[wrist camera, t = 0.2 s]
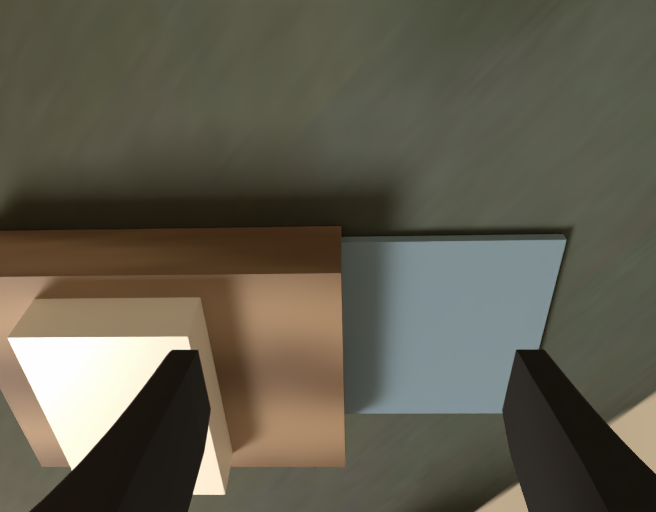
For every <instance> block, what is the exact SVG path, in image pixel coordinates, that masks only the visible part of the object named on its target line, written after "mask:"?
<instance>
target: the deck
mask: <svg viewBox="0 0 656 512" xmlns="http://www.w3.org/2000/svg"><path fill="white" fill-rule="evenodd" d="M177 297H200V298H201V303H202V308H203V313H204V317H205V322H206V327H207V332H208V337H209V341H210V346H211V351H212V356H213V361H214V365H215V370H216V375H217V380H218V385H219V389H220V394H221V399H222V404H223V409H224V413H225V418H226V423H227V428H228V433H229V437H230V442H231V447H232V452H233V455H232V460H231V466H230V467H345V386H344V338H343V290H342V234H341V226H306V227H234V228H163V229H91V230H19V231H0V389H1V391H2V393H3V395H4V397H5V398H6V400H7V402H8V404H9V406H10V408H11V410H12V411H13V413H14V415H15V417H16V419H17V421H18V423H19V425H20V426H21V428H22V430H23V432H24V434H25V436H26V438H27V439H28V441H29V443H30V445H31V447H32V449H33V451H34V453H35V454H36V456H37V458H38V460H39V462H40V464H41V466H42V467H70V465H69V463H68V461H67V459H66V457H65V455H64V453H63V451H62V449H61V447H60V445H59V443H58V441H57V438H56V436H55V434H54V432H53V430H52V428H51V426H50V424H49V422H48V420H47V418H46V416H45V414H44V412H43V410H42V408H41V406H40V404H39V402H38V400H37V397H36V395H35V393H34V391H33V389H32V387H31V385H30V383H29V381H28V379H27V377H26V375H25V373H24V371H23V369H22V367H21V365H20V363H19V361H18V359H17V357H16V354H15V352H14V350H13V348H12V346H11V344H10V342H9V340H8V336H9V335H10V333H11V332H12V330H13V329H14V327H15V326H16V325H17V323H18V322H19V320H20V319H21V317H22V316H23V314H24V313H25V312H26V310H27V309H28V307H29V306H30V304H31V303H32V301H33V300H34V299H72V298H177Z"/></svg>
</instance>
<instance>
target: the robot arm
mask: <svg viewBox="0 0 656 512" xmlns="http://www.w3.org/2000/svg"><path fill="white" fill-rule="evenodd" d="M210 412H211V407H210V402H209V398H208V393H207V388H206V384H205V379H204V375H203V370H202V365H201V361H200V356H199V351H198V350H171V351H170V352H169V353H168V354H167V355H166V357H165V358H164V360H163V361H162V362H161V364H160V365H159V366H158V368H157V369H156V371H155V372H154V373H153V375H152V376H151V377H150V379H149V380H148V381H147V383H146V384H145V385H144V387H143V388H142V389H141V391H140V392H139V393H138V394H137V396H136V397H135V398H134V400H133V401H132V402H131V403H130V405H129V406H128V407H127V408H126V410H125V411H124V412H123V413H122V415H121V416H120V417H119V418H118V420H117V421H116V422H115V423H114V424H113V426H112V427H111V428H110V429H109V430H108V432H107V433H106V434H105V435H104V436H103V437H102V438H101V439H100V441H99V442H98V443H97V444H96V445H95V446H94V447H93V448H92V450H91V451H90V452H89V453H88V454H87V455H86V456H85V457H84V459H83V460H82V461H81V462H80V463H79V464H78V465H77V466H76V467H75V468H74V469H73V470H72V471H71V472H70V473H69V474H68V475H67V476H66V477H65V478H64V479H63V480H62V481H61V482H60V483H59V484H58V485H57V486H56V487H55V488H54V489H53V490H52V491H51V492H50V493H49V494H48V495H47V496H46V497H45V498H44V499H43V500H42V501H41V502H39V503H38V504H37V505H36V506H35V507H34V508H33V509H32V510H31V511H29V512H188V509H189V505H190V502H191V498H192V495H193V491H194V488H195V484H196V480H197V477H198V473H199V469H200V466H201V462H202V459H203V455H204V451H205V445H206V439H207V433H208V426H209V419H210ZM502 412H503V418H504V423H505V429H506V434H507V439H508V444H509V449H510V454H511V457H512V460H513V464H514V467H515V470H516V473H517V476H518V480H519V483H520V486H521V489H522V492H523V495H524V498H525V501H526V505H527V508H528V511H529V512H656V474H655V473H654V472H653V471H652V470H651V469H650V468H649V467H648V466H647V465H646V464H645V463H644V462H643V461H642V460H641V459H640V458H639V457H638V456H637V455H636V454H635V453H634V452H633V451H632V450H631V449H630V448H629V447H628V446H627V445H626V444H625V443H624V442H623V441H622V440H621V439H620V438H619V436H618V435H617V434H616V433H615V432H614V431H613V430H612V429H611V428H610V427H609V425H608V424H607V423H606V422H605V421H604V420H603V419H602V418H601V417H600V415H599V414H598V413H597V412H596V411H595V410H594V409H593V408H592V406H591V405H590V404H589V403H588V402H587V401H586V399H585V398H584V397H583V396H582V395H581V394H580V392H579V391H578V390H577V389H576V388H575V386H574V385H573V384H572V383H571V382H570V380H569V379H568V378H567V377H566V376H565V374H564V373H563V372H562V371H561V369H560V368H559V367H558V366H557V364H556V363H555V362H554V361H553V360H552V358H551V357H550V356H549V355H548V353H547V352H546V351H545V350H544V349H518V350H516V352H515V357H514V361H513V365H512V369H511V374H510V378H509V382H508V387H507V391H506V395H505V400H504V404H503V408H502Z"/></svg>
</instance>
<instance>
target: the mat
mask: <svg viewBox="0 0 656 512" xmlns="http://www.w3.org/2000/svg"><path fill="white" fill-rule="evenodd" d="M565 244H566V238H565V236H564V234H521V235H446V236H370V237H342V290H343V338H344V386H345V414H357V413H503V412H502V408H503V404H504V400H505V395H506V391H507V387H508V382H509V378H510V374H511V369H512V365H513V361H514V357H515V352H516V350H518V349H539V346H540V342H541V338H542V334H543V331H544V327H545V323H546V319H547V315H548V311H549V307H550V303H551V299H552V295H553V291H554V287H555V283H556V279H557V276H558V272H559V268H560V264H561V260H562V256H563V252H564V248H565Z"/></svg>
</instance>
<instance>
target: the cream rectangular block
mask: <svg viewBox="0 0 656 512" xmlns="http://www.w3.org/2000/svg"><path fill="white" fill-rule="evenodd" d="M8 340H9V342H10V344H11V346H12V348H13V350H14V352H15V354H16V357H17V359H18V361H19V363H20V365H21V367H22V369H23V371H24V373H25V375H26V377H27V379H28V381H29V383H30V385H31V387H32V389H33V391H34V393H35V395H36V397H37V400H38V402H39V404H40V406H41V408H42V410H43V412H44V414H45V416H46V418H47V420H48V422H49V424H50V426H51V428H52V430H53V432H54V434H55V436H56V438H57V441H58V443H59V445H60V447H61V449H62V451H63V453H64V455H65V457H66V459H67V461H68V463H69V465H70V467H71V469H72V470H73V469H74V468H75V467H76V466H77V465H78V464H79V463H80V462H81V461H82V460H83V459H84V457H85V456H86V455H87V454H88V453H89V452H90V451H91V450H92V448H93V447H94V446H95V445H96V444H97V443H98V442H99V441H100V439H101V438H102V437H103V436H104V435H105V434H106V433H107V432H108V430H109V429H110V428H111V427H112V426H113V424H114V423H115V422H116V421H117V420H118V418H119V417H120V416H121V415H122V413H123V412H124V411H125V410H126V408H127V407H128V406H129V405H130V403H131V402H132V401H133V400H134V398H135V397H136V396H137V394H138V393H139V392H140V391H141V389H142V388H143V387H144V385H145V384H146V383H147V381H148V380H149V379H150V377H151V376H152V375H153V373H154V372H155V371H156V369H157V368H158V366H159V365H160V364H161V362H162V361H163V360H164V358H165V357H166V355H167V354H168V353H169V352H170V351H171V350H198V351H199V356H200V361H201V365H202V370H203V375H204V379H205V384H206V388H207V393H208V398H209V402H210V407H211V412H210V419H209V426H208V433H207V439H206V445H205V451H204V455H203V459H202V462H201V466H200V469H199V473H198V477H197V480H196V484H195V488H194V491H193V495H225V493H226V488H227V482H228V477H229V471H230V466H231V460H232V455H233V452H232V447H231V442H230V437H229V433H228V428H227V423H226V418H225V413H224V409H223V404H222V399H221V394H220V389H219V385H218V380H217V375H216V370H215V365H214V361H213V356H212V351H211V346H210V341H209V337H208V332H207V327H206V322H205V317H204V313H203V308H202V303H201V298H200V297H177V298H72V299H34V300H33V301H32V303H31V304H30V306H29V307H28V309H27V310H26V312H25V313H24V314H23V316H22V317H21V319H20V320H19V322H18V323H17V325H16V326H15V327H14V329H13V330H12V332H11V333H10V335H9V336H8Z"/></svg>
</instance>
